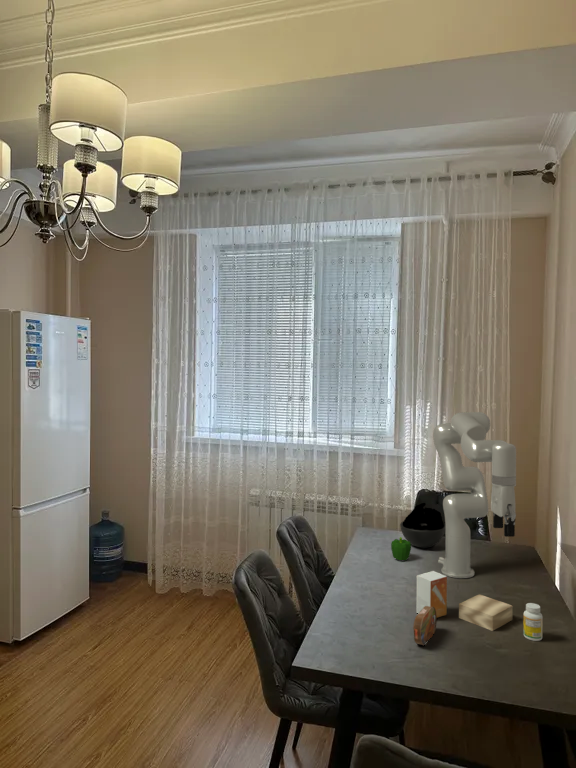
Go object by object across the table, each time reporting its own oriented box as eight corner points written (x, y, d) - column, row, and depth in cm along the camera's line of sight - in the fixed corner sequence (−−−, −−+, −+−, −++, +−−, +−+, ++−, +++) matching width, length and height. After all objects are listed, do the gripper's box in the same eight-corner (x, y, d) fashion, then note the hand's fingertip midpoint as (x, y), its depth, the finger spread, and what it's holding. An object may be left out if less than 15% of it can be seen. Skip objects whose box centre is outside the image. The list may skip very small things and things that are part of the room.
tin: (422, 650, 161) (422, 621, 161) (411, 647, 163) (411, 619, 162) (437, 629, 174) (437, 603, 174) (427, 627, 175) (427, 601, 175)
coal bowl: (431, 556, 241) (431, 513, 241) (391, 547, 255) (391, 506, 254) (452, 546, 256) (452, 505, 256) (414, 537, 270) (414, 498, 269)
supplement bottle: (538, 643, 165) (538, 611, 165) (520, 636, 169) (520, 605, 168) (545, 637, 168) (545, 605, 168) (527, 631, 172) (528, 600, 172)
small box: (430, 621, 180) (430, 581, 179) (415, 614, 185) (415, 575, 185) (447, 614, 184) (447, 575, 184) (432, 608, 189) (432, 570, 189)
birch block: (458, 618, 182) (458, 603, 182) (479, 608, 190) (479, 594, 189) (492, 632, 173) (492, 616, 173) (512, 620, 180) (512, 605, 180)
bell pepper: (396, 554, 244) (396, 532, 244) (413, 558, 240) (413, 535, 239) (387, 560, 238) (387, 537, 237) (405, 564, 233) (405, 540, 232)
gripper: (483, 475, 193) (483, 524, 193) (502, 486, 176) (502, 539, 176) (505, 475, 193) (504, 524, 193) (526, 486, 176) (525, 539, 176)
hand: (503, 531), depth 185 cm, fingers open, 9 cm apart
